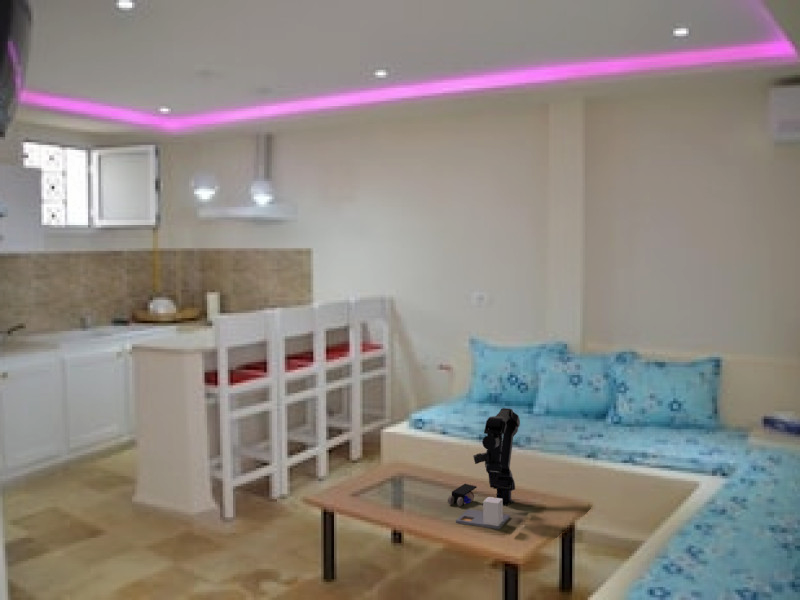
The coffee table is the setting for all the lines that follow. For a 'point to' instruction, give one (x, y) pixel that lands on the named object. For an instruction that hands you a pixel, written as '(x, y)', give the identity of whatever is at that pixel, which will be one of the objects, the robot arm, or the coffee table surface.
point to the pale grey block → (493, 511)
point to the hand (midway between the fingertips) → (491, 485)
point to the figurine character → (462, 495)
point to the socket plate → (478, 519)
